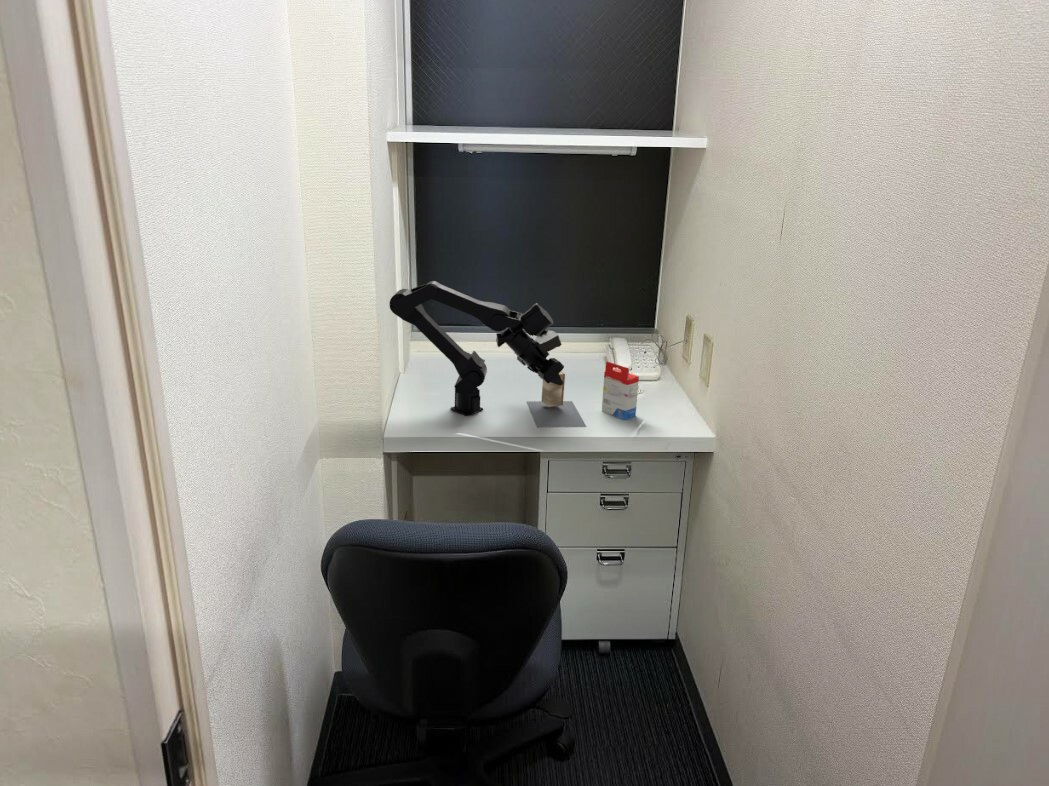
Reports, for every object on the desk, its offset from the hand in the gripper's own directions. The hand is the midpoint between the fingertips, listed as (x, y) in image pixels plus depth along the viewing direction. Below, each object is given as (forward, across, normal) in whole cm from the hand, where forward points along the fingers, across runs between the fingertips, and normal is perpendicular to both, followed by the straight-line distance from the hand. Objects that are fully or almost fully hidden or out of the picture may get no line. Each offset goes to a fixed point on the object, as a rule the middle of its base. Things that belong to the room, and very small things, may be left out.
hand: (558, 381), depth 214 cm
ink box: (+16, -9, -4) cm, 19 cm away
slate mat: (+4, -4, +7) cm, 9 cm away
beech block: (+3, 0, +5) cm, 6 cm away
